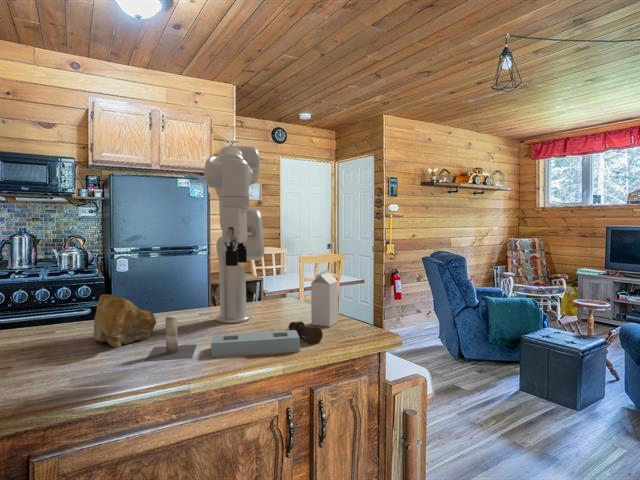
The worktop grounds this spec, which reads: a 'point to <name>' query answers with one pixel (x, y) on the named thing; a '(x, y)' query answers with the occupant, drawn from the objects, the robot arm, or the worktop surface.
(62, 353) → the worktop surface
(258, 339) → the hole block
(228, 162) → the robot arm
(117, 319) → the rough brown rock
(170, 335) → the peg
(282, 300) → the worktop surface
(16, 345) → the worktop surface
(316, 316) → the milk carton
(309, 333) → the bolt
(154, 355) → the mat
